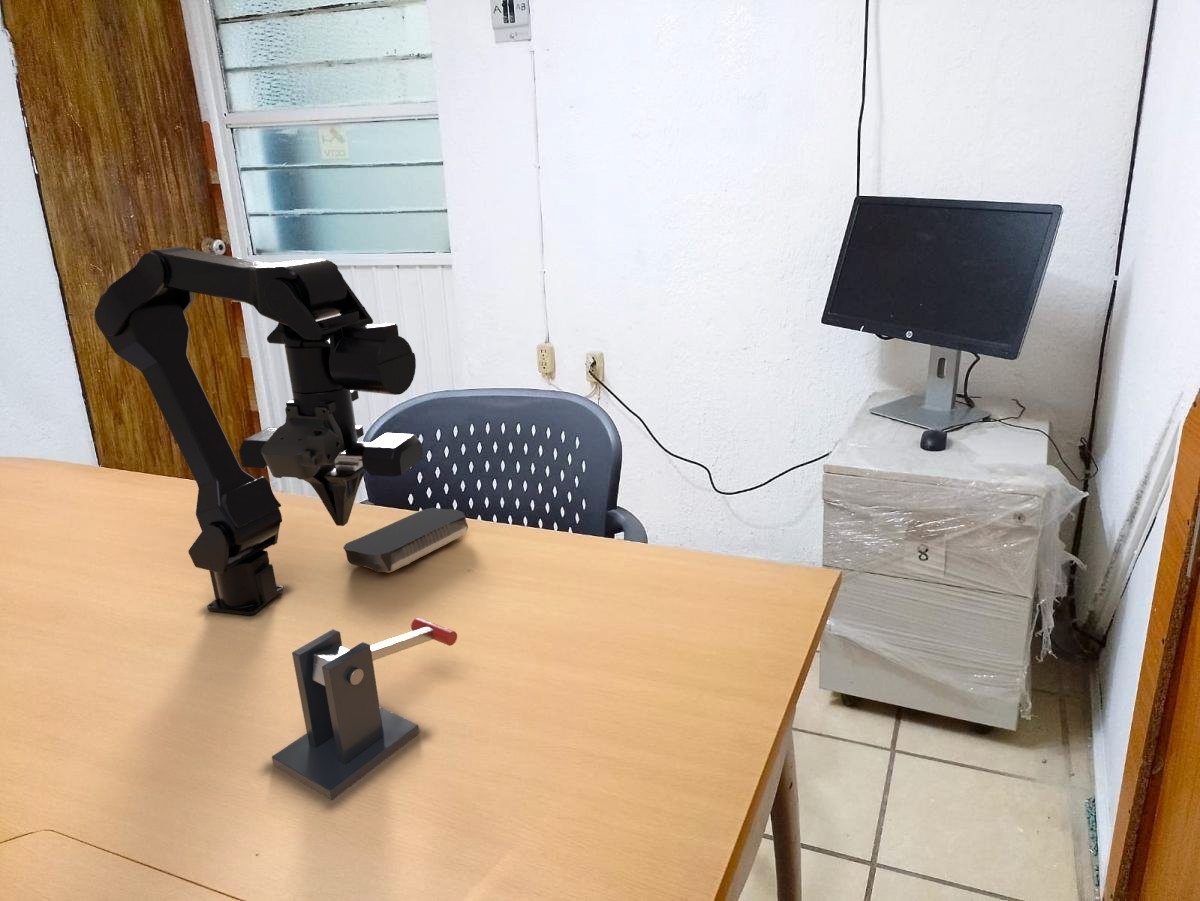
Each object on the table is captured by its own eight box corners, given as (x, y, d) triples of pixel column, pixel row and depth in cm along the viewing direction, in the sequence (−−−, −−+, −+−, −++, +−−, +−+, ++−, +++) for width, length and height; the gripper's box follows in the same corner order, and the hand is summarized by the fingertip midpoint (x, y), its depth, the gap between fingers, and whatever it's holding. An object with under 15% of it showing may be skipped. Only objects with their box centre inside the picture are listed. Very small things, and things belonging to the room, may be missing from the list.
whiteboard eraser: (383, 584, 104) (379, 558, 103) (341, 567, 109) (337, 541, 108) (475, 537, 117) (472, 513, 115) (433, 523, 121) (431, 500, 120)
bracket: (362, 707, 81) (347, 610, 77) (420, 735, 77) (406, 634, 73) (273, 767, 73) (252, 663, 70) (332, 802, 69) (312, 693, 65)
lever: (420, 634, 84) (422, 611, 84) (456, 648, 81) (458, 625, 81) (301, 675, 72) (302, 649, 72) (339, 693, 70) (340, 666, 69)
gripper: (189, 405, 80) (220, 550, 85) (362, 412, 76) (383, 565, 81) (260, 376, 90) (284, 507, 96) (417, 381, 86) (432, 519, 91)
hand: (342, 524), depth 90 cm, fingers closed
